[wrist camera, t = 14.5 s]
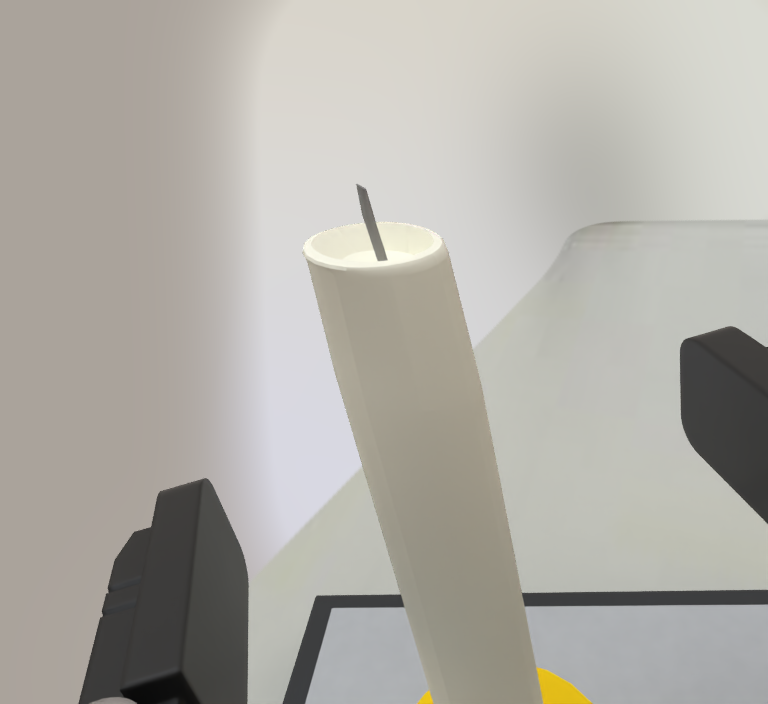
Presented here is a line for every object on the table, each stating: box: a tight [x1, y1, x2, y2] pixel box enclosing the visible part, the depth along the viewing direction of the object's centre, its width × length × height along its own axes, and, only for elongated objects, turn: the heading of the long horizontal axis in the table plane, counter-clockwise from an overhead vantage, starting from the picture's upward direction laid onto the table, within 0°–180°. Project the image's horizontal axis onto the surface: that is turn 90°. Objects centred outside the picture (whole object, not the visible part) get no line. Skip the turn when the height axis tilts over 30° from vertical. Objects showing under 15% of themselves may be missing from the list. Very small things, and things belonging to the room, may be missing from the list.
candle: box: [303, 184, 593, 704], centre depth 10 cm, size 5×5×16 cm
